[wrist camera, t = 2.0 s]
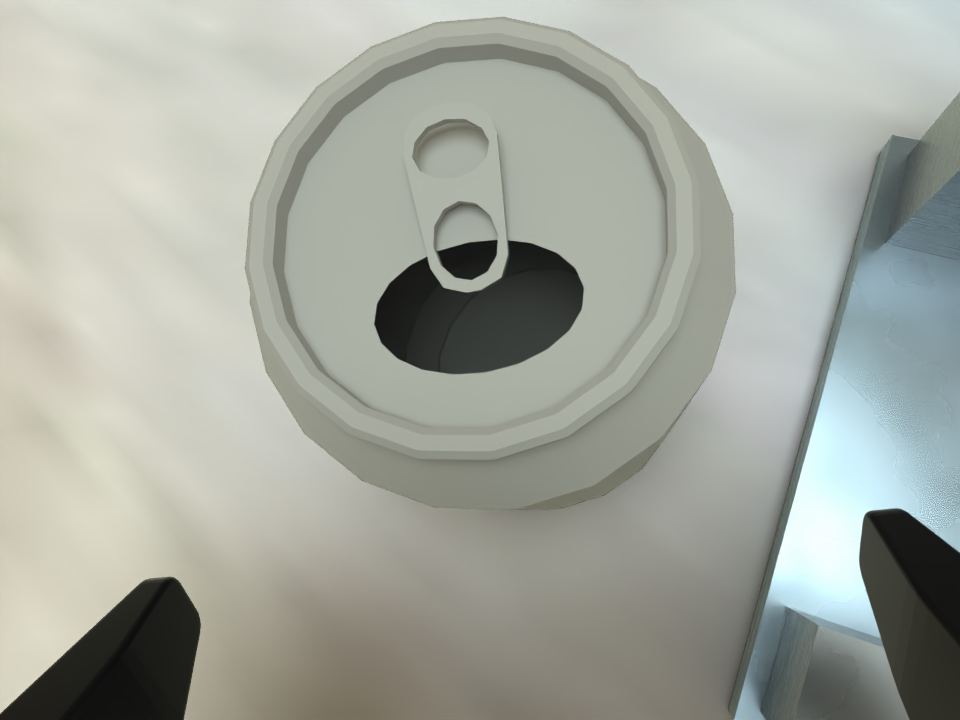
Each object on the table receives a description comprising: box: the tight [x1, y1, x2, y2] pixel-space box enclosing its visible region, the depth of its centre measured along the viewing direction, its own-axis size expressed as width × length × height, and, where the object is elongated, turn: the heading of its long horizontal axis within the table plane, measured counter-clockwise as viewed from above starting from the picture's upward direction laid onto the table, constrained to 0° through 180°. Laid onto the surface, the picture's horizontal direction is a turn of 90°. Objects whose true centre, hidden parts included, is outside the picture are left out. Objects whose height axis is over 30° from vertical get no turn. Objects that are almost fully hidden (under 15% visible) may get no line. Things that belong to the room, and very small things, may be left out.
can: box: [245, 17, 736, 510], centre depth 16 cm, size 8×8×12 cm
